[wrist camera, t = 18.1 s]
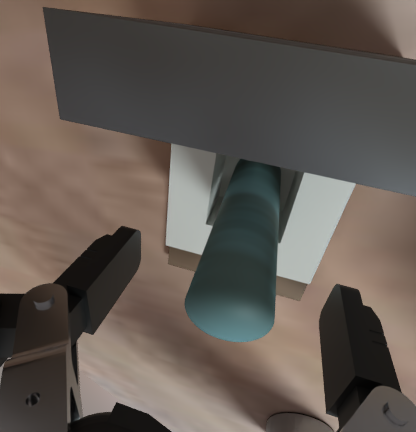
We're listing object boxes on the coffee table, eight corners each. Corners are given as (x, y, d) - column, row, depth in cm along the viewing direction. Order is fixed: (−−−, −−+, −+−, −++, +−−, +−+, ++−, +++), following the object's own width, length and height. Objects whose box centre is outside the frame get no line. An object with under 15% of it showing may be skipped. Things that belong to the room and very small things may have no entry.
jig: (299, 293, 28) (301, 455, 17) (171, 257, 29) (100, 383, 19) (403, 57, 17) (597, 93, 6) (189, 24, 19) (42, 7, 8)
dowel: (273, 199, 21) (261, 351, 11) (230, 188, 21) (181, 327, 11) (286, 157, 19) (286, 295, 9) (239, 147, 19) (189, 269, 9)
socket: (307, 240, 23) (309, 284, 19) (187, 210, 24) (165, 245, 20) (359, 110, 17) (378, 133, 13) (200, 81, 19) (174, 94, 15)
